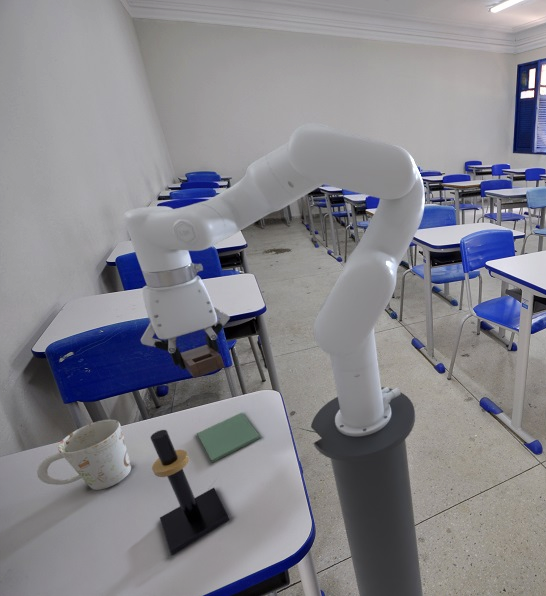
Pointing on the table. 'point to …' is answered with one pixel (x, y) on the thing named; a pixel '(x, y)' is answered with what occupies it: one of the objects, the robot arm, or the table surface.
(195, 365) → the brown block with hole
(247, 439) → the mat
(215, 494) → the hanging post
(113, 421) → the mug
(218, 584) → the table surface
